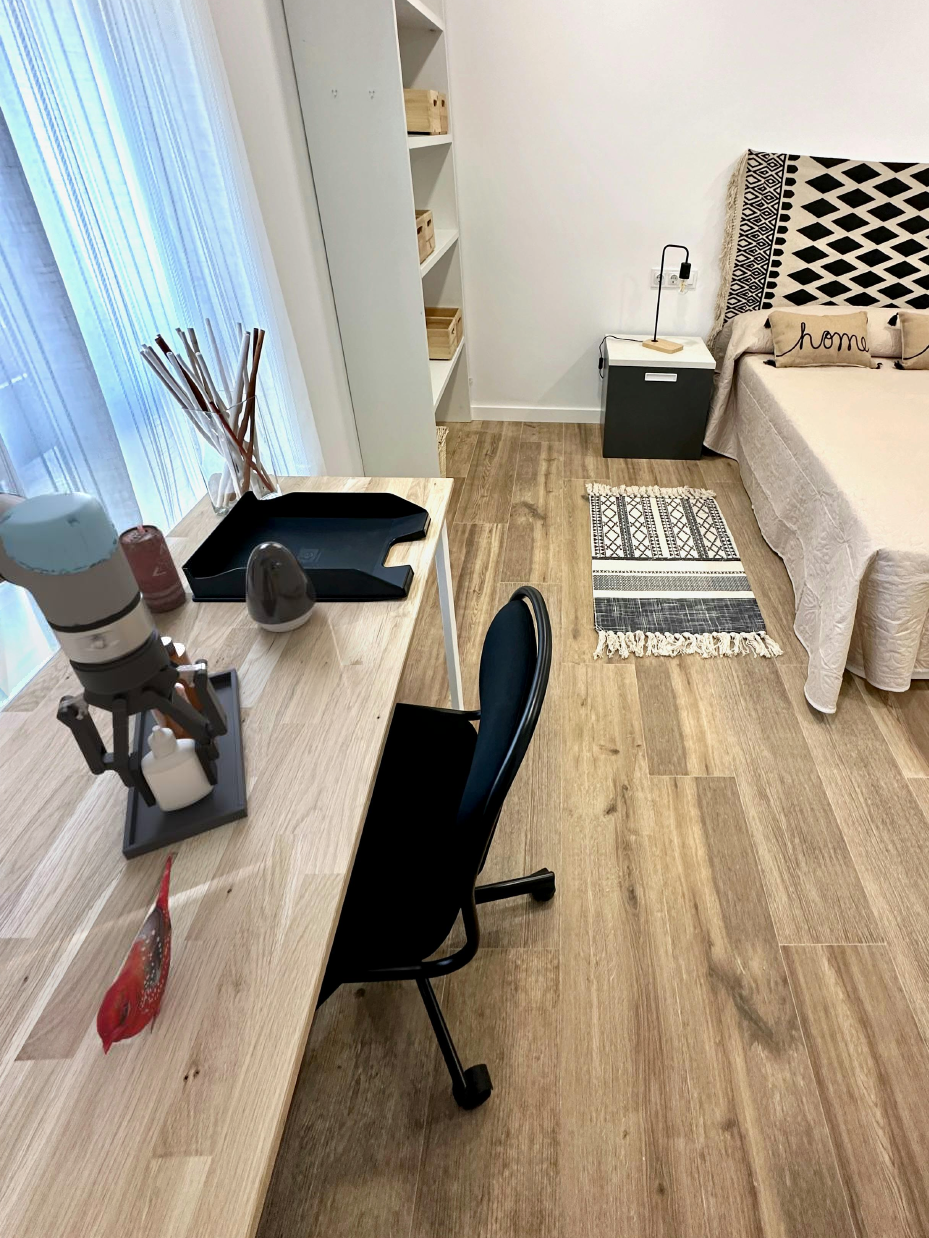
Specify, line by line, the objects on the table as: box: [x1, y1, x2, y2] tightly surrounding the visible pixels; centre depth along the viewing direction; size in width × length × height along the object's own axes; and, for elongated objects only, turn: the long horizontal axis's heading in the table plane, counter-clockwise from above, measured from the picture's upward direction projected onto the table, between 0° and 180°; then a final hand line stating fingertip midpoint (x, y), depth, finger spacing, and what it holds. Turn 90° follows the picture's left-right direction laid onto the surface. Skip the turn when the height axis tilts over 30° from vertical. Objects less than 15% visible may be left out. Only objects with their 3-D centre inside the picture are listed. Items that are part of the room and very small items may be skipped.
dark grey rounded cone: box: [244, 541, 317, 633], centre depth 101 cm, size 10×10×15 cm
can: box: [118, 524, 187, 613], centre depth 104 cm, size 6×6×14 cm
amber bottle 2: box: [151, 683, 195, 741], centre depth 79 cm, size 4×4×12 cm
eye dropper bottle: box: [141, 726, 213, 811], centre depth 73 cm, size 4×6×12 cm
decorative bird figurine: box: [96, 855, 173, 1056], centre depth 58 cm, size 3×18×10 cm, turn 15°
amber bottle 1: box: [161, 636, 203, 712], centre depth 85 cm, size 4×4×12 cm
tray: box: [121, 667, 249, 861], centre depth 82 cm, size 25×12×2 cm, turn 27°
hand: (183, 786), depth 75 cm, fingers closed on eye dropper bottle, 6 cm apart
